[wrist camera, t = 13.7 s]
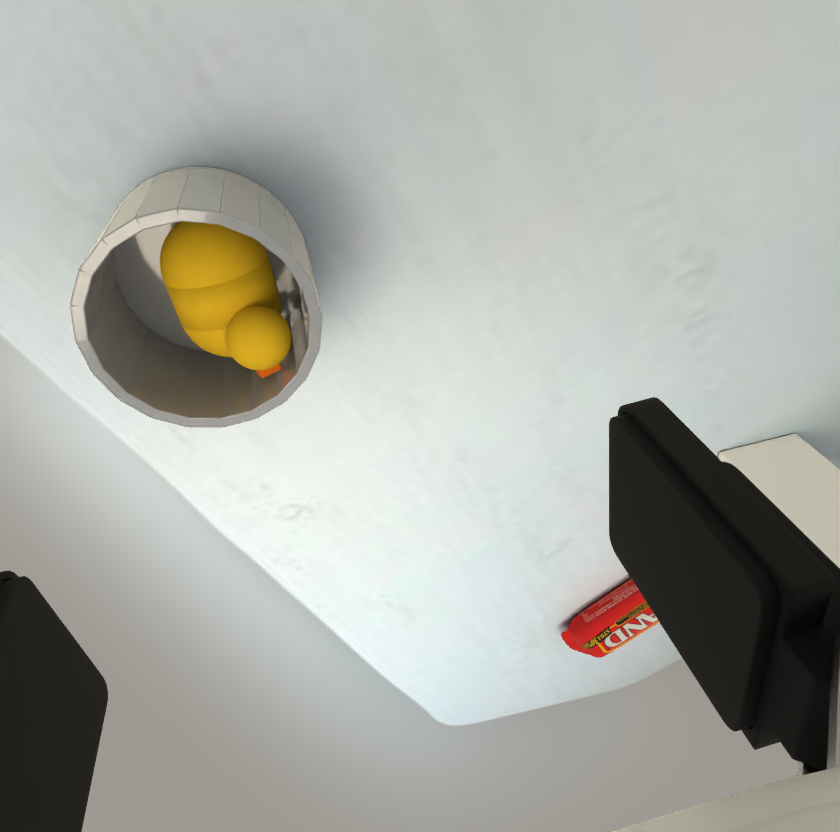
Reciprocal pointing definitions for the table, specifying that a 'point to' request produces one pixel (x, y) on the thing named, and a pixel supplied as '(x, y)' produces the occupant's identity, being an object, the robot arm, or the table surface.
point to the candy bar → (610, 622)
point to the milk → (796, 486)
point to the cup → (155, 314)
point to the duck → (226, 294)
